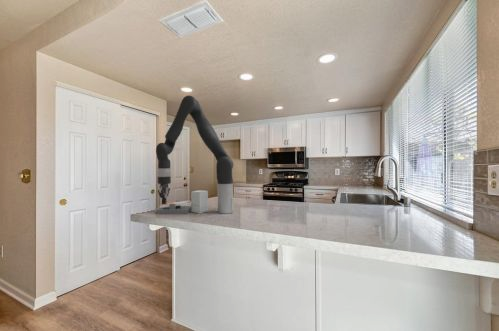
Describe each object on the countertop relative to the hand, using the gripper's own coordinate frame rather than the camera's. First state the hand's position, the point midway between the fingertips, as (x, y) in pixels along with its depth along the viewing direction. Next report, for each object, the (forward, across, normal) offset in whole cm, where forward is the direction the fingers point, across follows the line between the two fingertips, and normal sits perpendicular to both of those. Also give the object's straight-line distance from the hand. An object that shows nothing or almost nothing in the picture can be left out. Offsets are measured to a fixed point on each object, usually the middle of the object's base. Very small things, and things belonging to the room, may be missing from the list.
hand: (164, 204), depth 133 cm
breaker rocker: (0, 0, -7) cm, 7 cm away
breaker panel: (+5, 0, -7) cm, 8 cm away
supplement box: (+5, 0, -22) cm, 22 cm away
